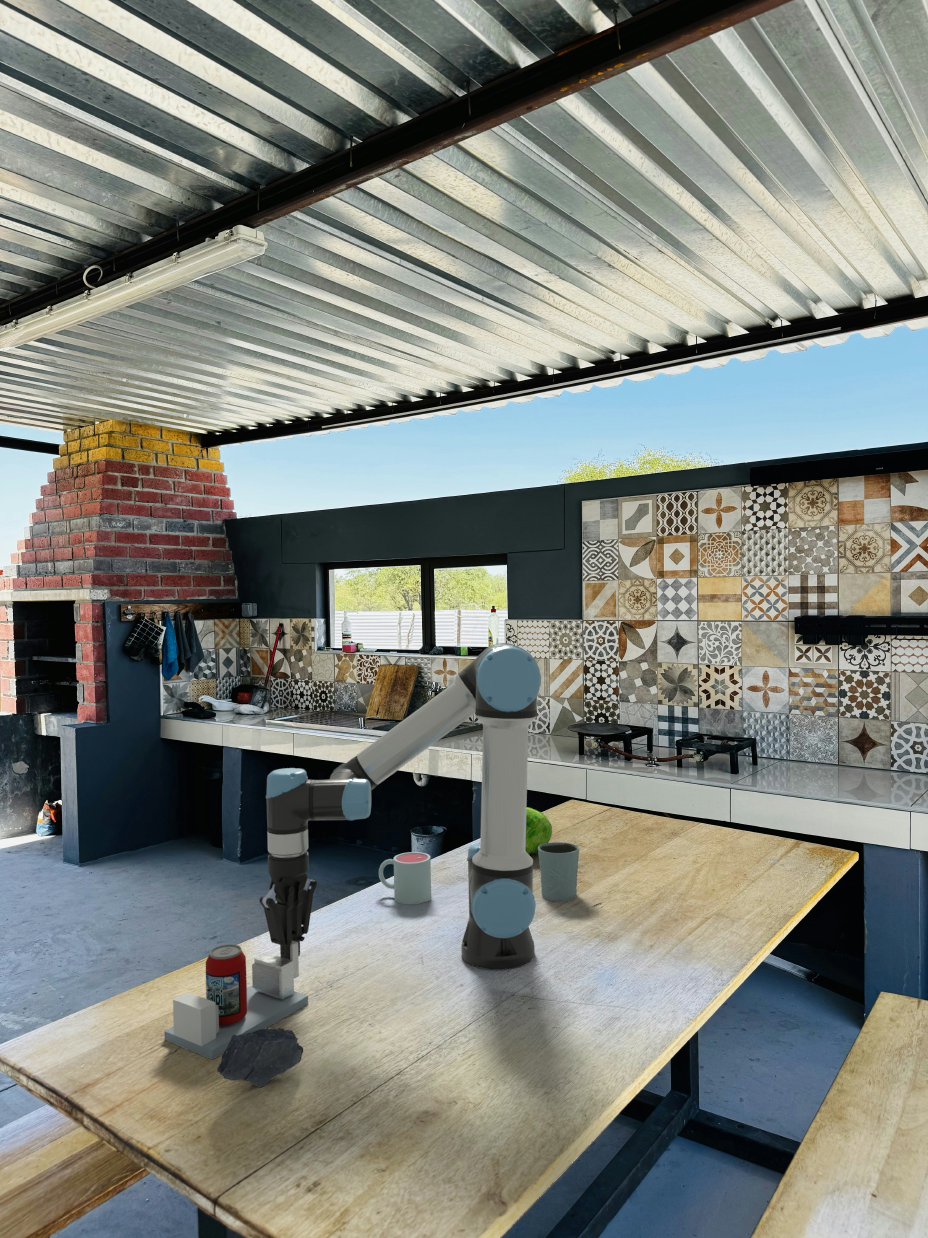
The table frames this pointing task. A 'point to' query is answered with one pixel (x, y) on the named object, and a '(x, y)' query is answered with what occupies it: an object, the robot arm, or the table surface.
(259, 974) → the block
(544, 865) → the grey-green cup
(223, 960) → the beverage can
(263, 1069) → the stone
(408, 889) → the mug
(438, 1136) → the table surface
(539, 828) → the lettuce
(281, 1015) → the vise bed
